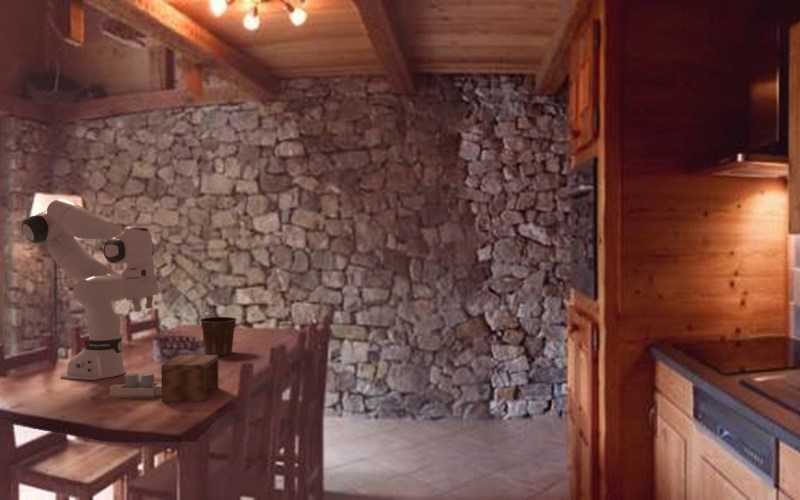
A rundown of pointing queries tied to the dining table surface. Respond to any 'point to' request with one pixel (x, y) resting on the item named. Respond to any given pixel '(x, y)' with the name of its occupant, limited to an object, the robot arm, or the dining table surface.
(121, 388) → the tray
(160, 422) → the dining table surface
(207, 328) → the plant pot
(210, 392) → the dining table surface
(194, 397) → the wooden crate box
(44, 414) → the dining table surface
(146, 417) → the dining table surface
